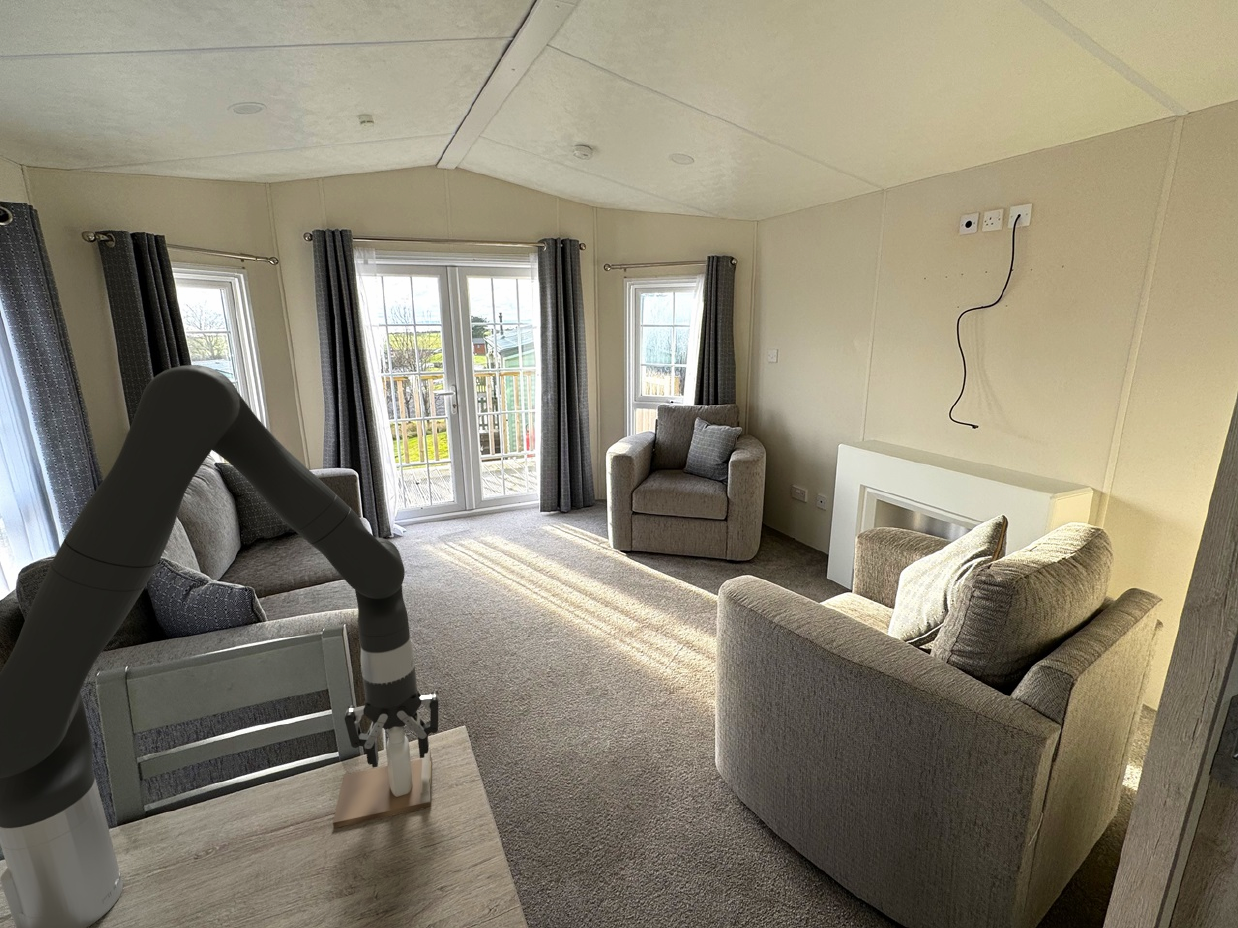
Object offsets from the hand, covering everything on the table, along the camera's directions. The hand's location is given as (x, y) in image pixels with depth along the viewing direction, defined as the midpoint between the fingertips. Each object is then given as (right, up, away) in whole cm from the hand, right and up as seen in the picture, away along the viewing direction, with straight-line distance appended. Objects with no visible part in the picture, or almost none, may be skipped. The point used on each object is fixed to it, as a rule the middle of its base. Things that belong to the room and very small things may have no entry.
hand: (399, 758), depth 94 cm
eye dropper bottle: (0, -5, +1) cm, 5 cm away
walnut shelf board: (-2, -6, +1) cm, 6 cm away
